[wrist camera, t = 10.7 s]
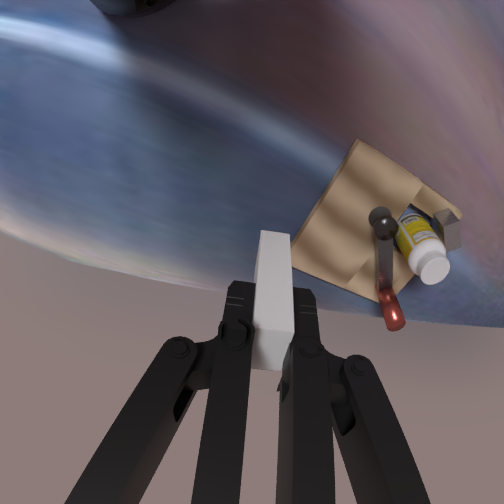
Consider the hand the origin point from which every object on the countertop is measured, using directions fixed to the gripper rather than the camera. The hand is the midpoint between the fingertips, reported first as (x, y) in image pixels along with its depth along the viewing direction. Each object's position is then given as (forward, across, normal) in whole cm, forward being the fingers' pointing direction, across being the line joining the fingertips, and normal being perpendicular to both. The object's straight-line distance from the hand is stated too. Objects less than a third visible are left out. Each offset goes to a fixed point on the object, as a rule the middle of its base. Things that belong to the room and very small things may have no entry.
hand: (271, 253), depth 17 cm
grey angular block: (+26, +28, -8) cm, 40 cm away
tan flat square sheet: (+26, +18, -12) cm, 34 cm away
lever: (+24, +20, -15) cm, 34 cm away
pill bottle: (+27, +24, -10) cm, 37 cm away
